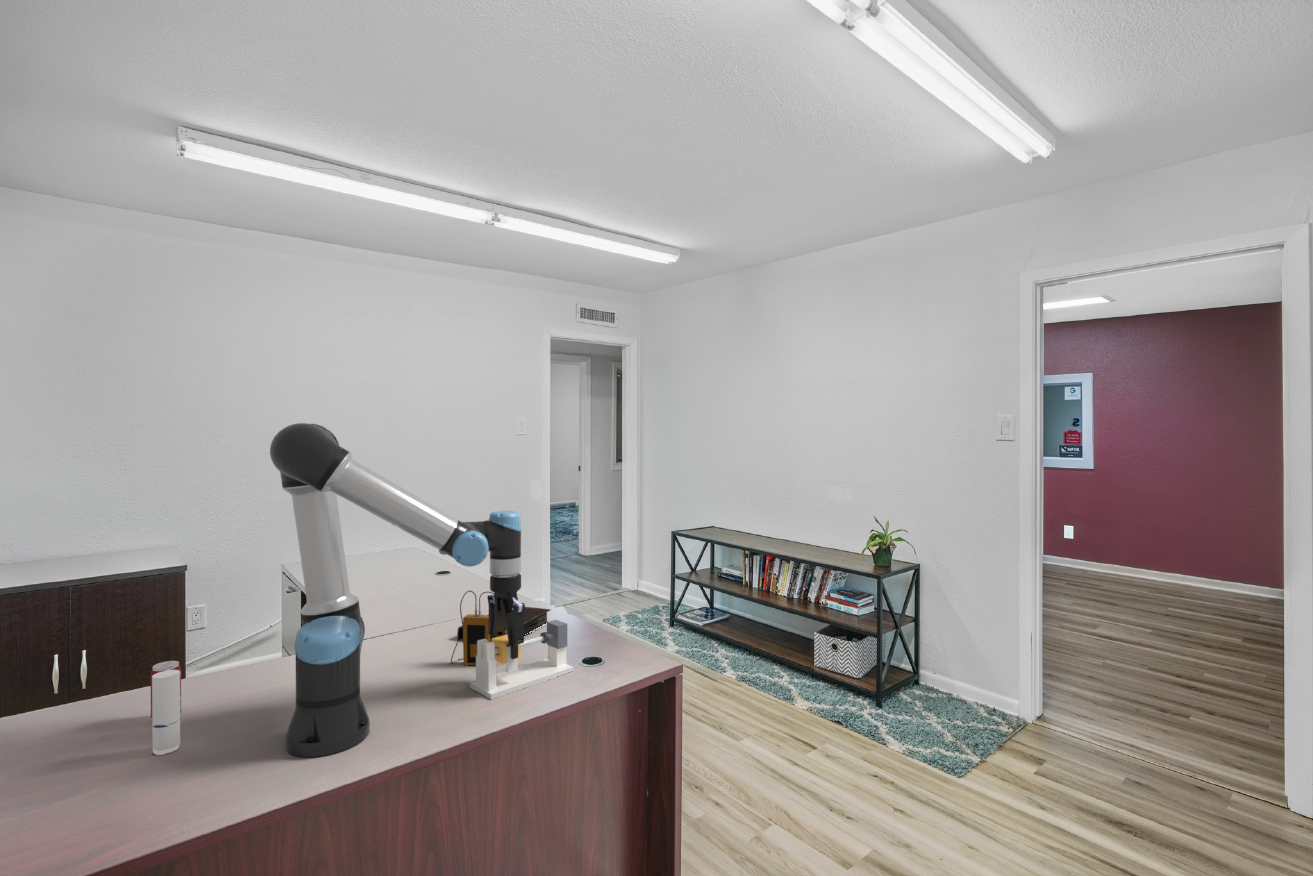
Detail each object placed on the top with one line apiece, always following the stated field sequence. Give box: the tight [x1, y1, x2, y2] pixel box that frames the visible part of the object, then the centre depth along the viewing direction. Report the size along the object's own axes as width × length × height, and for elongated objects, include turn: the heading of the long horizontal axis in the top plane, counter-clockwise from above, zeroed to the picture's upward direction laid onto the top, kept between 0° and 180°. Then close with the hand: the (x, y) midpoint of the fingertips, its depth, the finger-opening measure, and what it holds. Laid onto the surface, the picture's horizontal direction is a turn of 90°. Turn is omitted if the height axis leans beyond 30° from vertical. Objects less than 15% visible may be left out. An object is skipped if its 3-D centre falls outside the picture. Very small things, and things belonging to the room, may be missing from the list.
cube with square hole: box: [492, 635, 521, 665], centre depth 153 cm, size 5×5×5 cm
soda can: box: [150, 660, 182, 719], centre depth 135 cm, size 5×5×12 cm
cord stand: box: [469, 619, 574, 700], centre depth 157 cm, size 24×10×12 cm, turn 135°
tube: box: [151, 670, 181, 751], centre depth 122 cm, size 4×4×15 cm
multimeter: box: [450, 590, 505, 666], centre depth 171 cm, size 15×10×20 cm
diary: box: [456, 606, 552, 641], centre depth 196 cm, size 19×25×5 cm
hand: (506, 667), depth 153 cm, fingers closed on cube with square hole, 5 cm apart
